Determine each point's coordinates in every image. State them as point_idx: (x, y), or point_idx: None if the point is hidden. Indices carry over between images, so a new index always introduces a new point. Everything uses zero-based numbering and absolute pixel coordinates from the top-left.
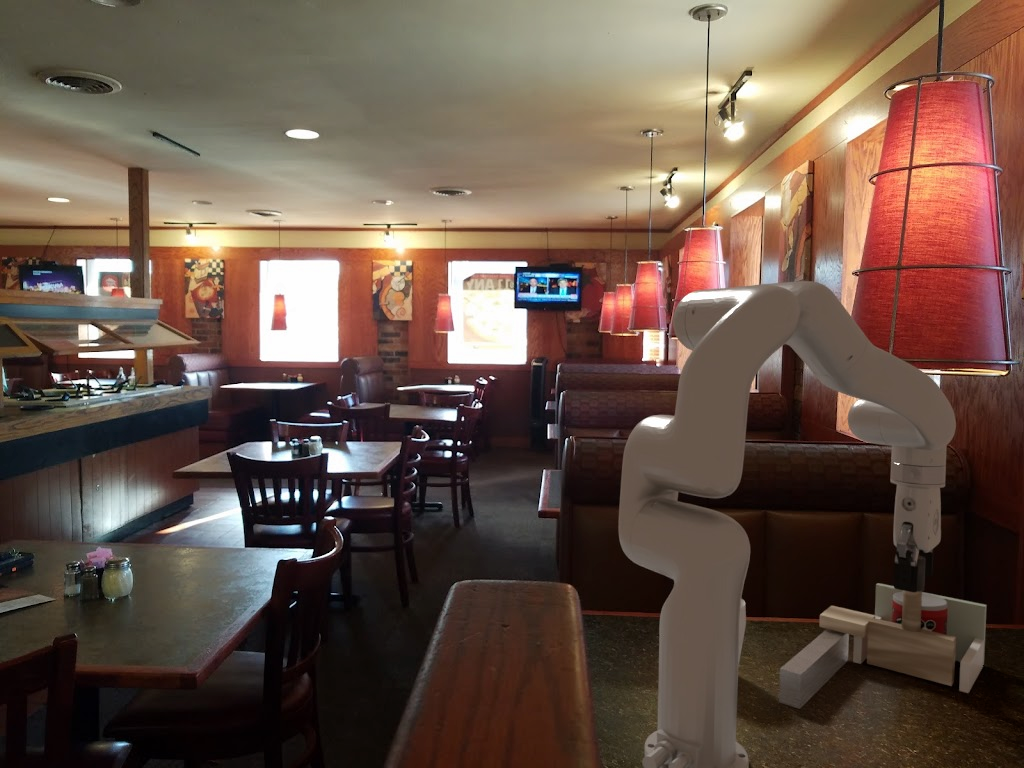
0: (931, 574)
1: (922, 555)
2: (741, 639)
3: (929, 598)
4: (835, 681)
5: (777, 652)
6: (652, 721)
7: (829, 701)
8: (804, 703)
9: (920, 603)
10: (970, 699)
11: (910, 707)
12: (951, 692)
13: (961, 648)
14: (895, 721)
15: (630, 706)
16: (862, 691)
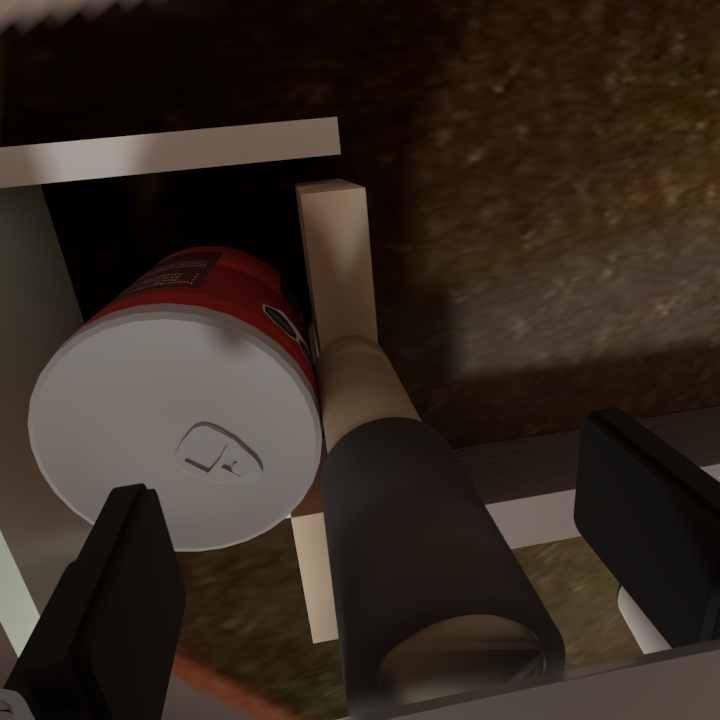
0: (136, 493)
1: (122, 689)
2: None
3: (87, 423)
4: (522, 423)
5: None
6: None
7: (645, 381)
8: (696, 410)
9: (382, 390)
10: (371, 105)
11: (556, 226)
12: (361, 170)
13: (29, 237)
14: (665, 224)
15: None
16: (537, 354)
